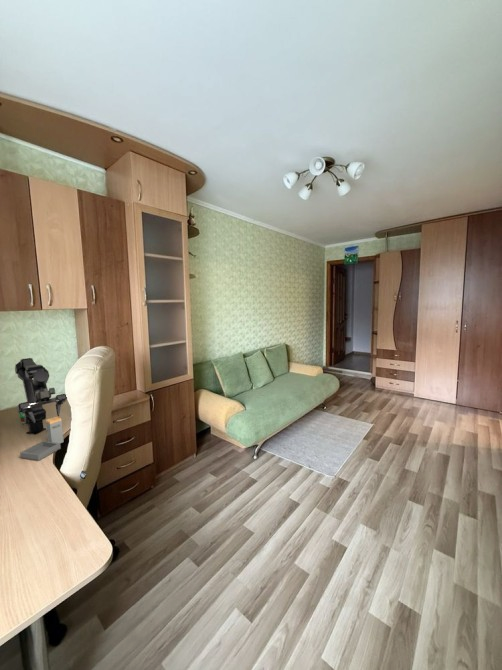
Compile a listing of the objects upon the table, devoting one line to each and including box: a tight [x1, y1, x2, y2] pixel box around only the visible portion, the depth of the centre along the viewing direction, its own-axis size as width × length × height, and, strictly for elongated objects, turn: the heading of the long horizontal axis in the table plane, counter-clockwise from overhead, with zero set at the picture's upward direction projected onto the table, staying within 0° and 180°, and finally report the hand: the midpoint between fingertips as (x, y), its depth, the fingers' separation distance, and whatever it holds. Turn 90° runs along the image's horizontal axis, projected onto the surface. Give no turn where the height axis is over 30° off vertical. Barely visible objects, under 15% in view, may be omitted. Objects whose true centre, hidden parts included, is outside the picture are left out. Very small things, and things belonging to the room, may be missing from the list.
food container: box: [18, 412, 26, 425], centre depth 161 cm, size 12×6×10 cm, turn 168°
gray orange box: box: [45, 416, 64, 444], centre depth 135 cm, size 6×5×12 cm
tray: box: [19, 440, 62, 462], centre depth 126 cm, size 11×11×3 cm
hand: (47, 419), depth 128 cm, fingers open, 9 cm apart
